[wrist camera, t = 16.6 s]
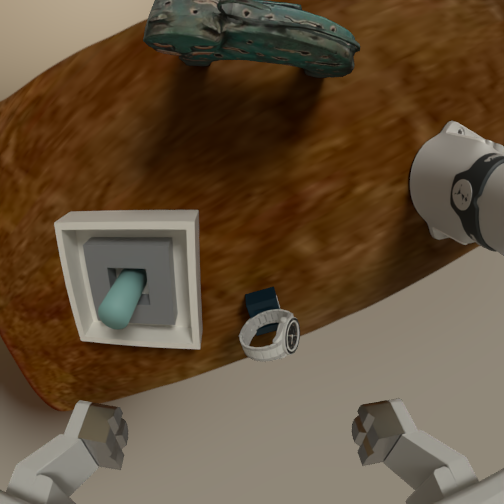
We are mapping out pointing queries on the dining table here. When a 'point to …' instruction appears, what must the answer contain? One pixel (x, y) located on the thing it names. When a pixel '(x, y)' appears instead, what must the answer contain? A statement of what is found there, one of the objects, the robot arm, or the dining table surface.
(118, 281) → the peg
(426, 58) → the dining table surface
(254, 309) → the watch
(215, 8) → the ceramic cat
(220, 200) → the dining table surface
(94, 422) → the robot arm
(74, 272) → the open box
